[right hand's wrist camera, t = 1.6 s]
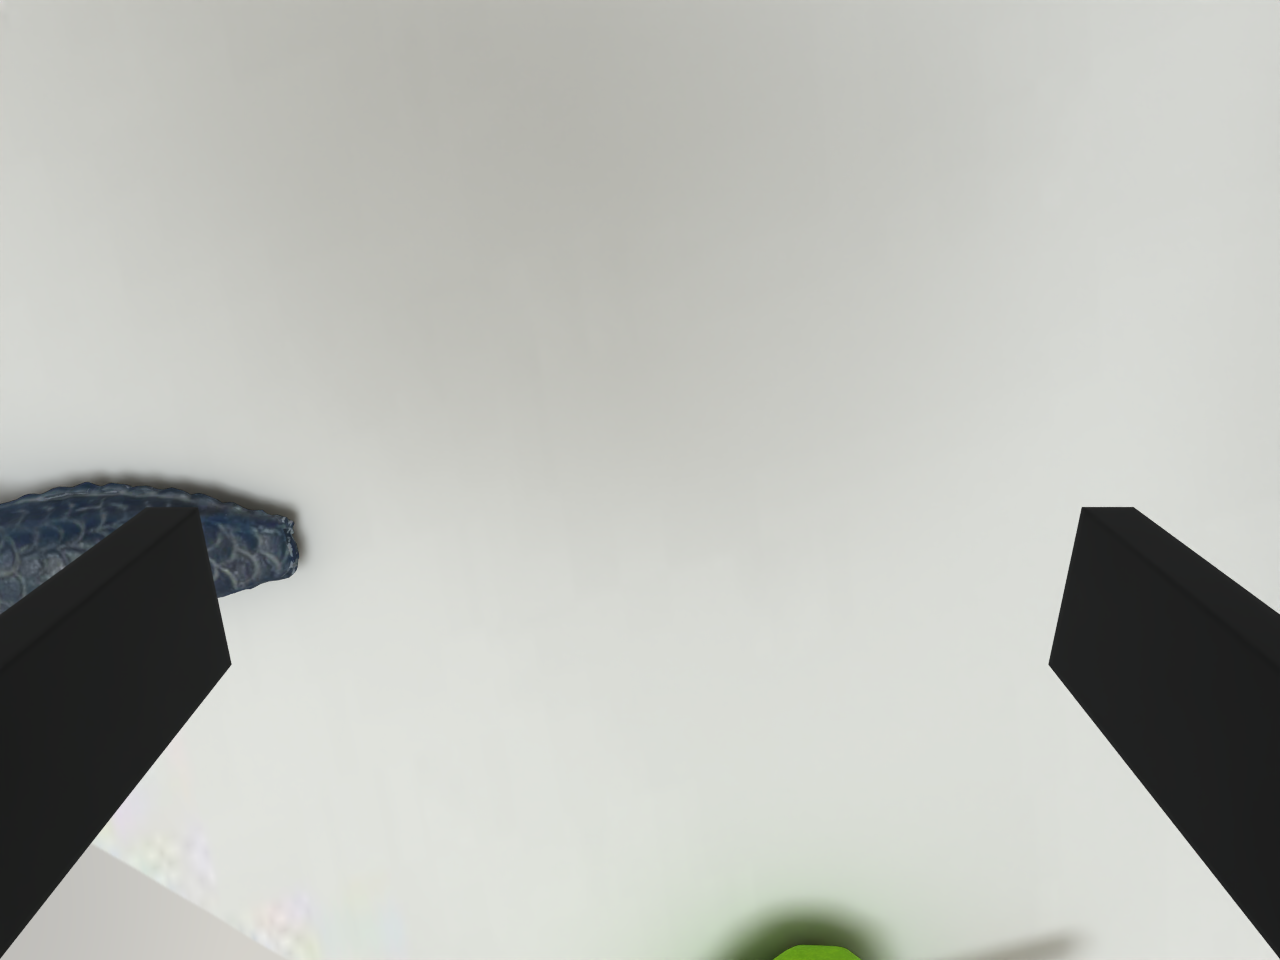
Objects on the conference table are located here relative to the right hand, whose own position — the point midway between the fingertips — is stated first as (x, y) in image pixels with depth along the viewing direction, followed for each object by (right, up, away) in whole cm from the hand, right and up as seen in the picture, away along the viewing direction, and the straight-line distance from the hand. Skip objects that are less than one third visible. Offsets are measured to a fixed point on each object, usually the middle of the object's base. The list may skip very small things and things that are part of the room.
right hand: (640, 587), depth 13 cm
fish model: (-28, -2, +31) cm, 41 cm away
